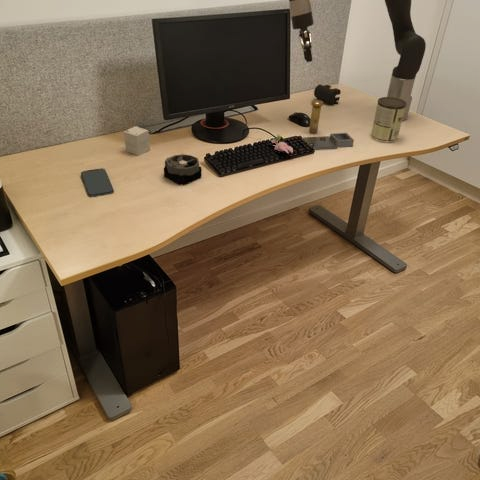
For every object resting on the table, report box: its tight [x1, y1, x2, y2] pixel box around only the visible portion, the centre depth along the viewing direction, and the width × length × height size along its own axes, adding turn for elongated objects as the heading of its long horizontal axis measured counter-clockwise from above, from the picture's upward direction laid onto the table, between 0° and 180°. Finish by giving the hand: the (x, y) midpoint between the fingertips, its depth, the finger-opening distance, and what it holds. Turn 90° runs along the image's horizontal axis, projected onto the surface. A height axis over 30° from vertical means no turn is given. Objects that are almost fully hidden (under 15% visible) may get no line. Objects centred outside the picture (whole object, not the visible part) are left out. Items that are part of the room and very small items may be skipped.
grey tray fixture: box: [302, 132, 355, 151], centre depth 170 cm, size 19×9×2 cm, turn 102°
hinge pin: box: [308, 99, 324, 135], centre depth 176 cm, size 4×4×12 cm
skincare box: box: [123, 125, 151, 156], centre depth 158 cm, size 6×6×7 cm
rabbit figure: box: [270, 134, 294, 154], centre depth 163 cm, size 6×6×15 cm
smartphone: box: [80, 167, 115, 198], centre depth 140 cm, size 8×2×15 cm
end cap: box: [313, 84, 341, 106], centre depth 207 cm, size 10×7×7 cm
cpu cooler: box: [163, 153, 203, 186], centre depth 144 cm, size 10×6×10 cm
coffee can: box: [370, 96, 407, 144], centre depth 174 cm, size 10×10×14 cm
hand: (308, 60), depth 172 cm, fingers open, 8 cm apart
